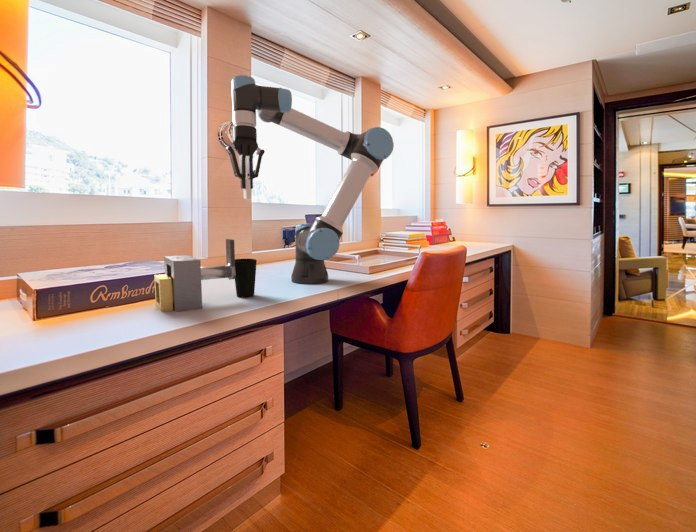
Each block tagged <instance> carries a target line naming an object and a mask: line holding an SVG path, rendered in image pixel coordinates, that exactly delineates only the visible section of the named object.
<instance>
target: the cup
mask: <svg viewBox="0 0 696 532" xmlns="http://www.w3.org/2000/svg"><path fill="white" fill-rule="evenodd" d="M257 263H258V262H257V259H256V258H235V271H236V275H235V279H234V284H235V292H236V297H237V298H241V299H244V298H245V299H246V298H253V297H255V290H256V289H255V288H256V276H257V275H256V273H257Z"/></svg>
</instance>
